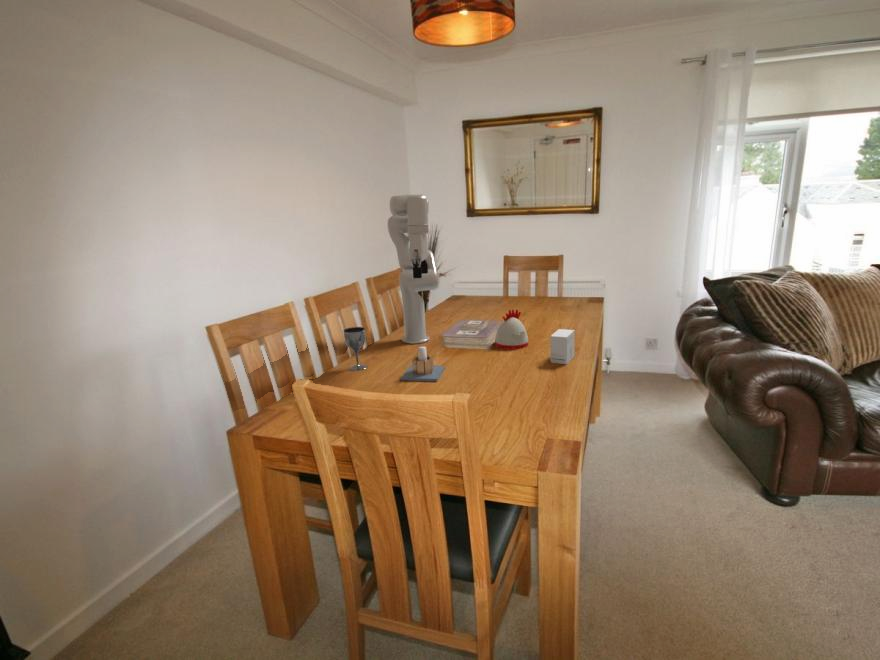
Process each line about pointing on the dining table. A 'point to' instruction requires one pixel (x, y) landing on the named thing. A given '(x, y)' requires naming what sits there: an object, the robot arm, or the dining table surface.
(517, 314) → the kitchen timer
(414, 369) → the ring
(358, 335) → the wine glass
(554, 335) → the skincare box
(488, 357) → the dining table surface
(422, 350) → the piston stand
